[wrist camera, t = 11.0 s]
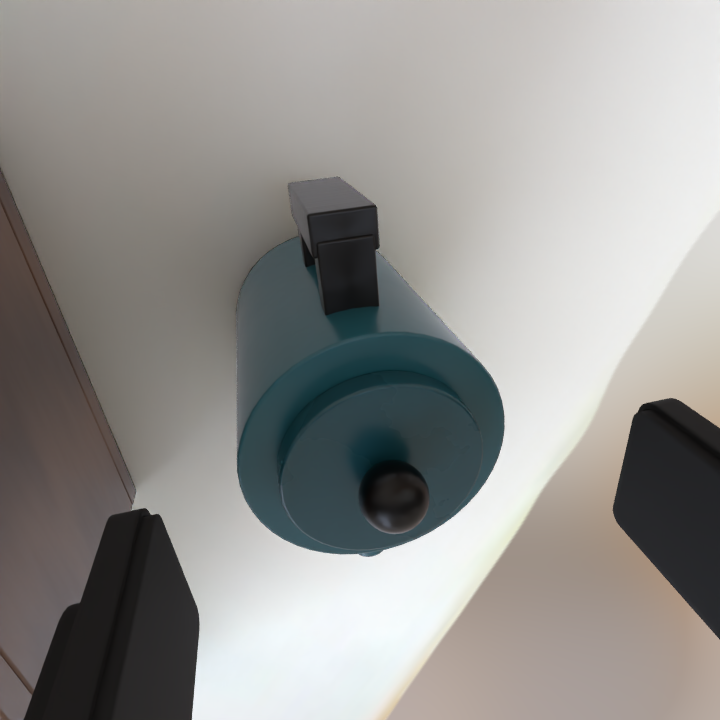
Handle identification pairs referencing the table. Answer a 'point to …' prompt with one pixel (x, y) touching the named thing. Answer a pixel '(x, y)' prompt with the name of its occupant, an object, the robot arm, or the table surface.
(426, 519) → the kettle
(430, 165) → the table surface
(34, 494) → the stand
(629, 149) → the table surface
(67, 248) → the table surface
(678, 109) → the table surface
